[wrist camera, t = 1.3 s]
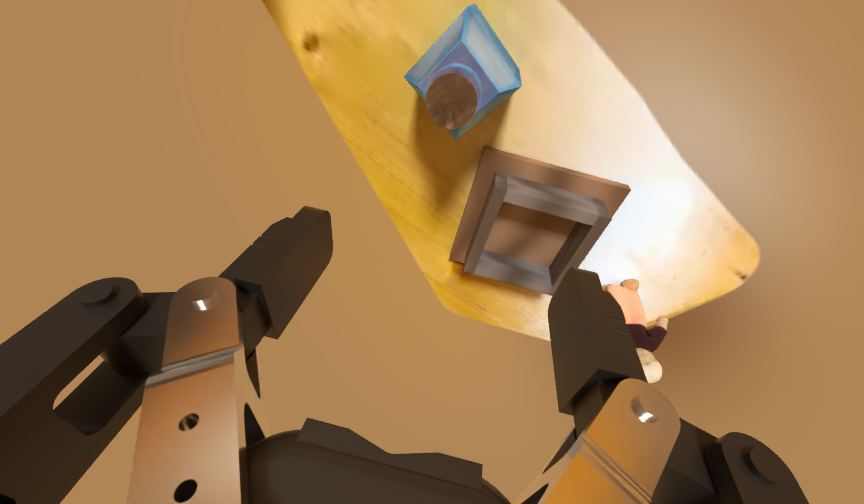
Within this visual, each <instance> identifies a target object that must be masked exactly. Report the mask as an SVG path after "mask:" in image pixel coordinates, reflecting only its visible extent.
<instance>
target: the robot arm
mask: <svg viewBox="0 0 864 504" xmlns="http://www.w3.org/2000/svg"><path fill="white" fill-rule="evenodd" d="M332 252H333V240H332V228H331V216H330V213H329V212H328V211H326V210H321V209H317V208H313V207H308V206H304V207H303V208H302V209H301V210H300V211H299V212H298V213H297V214H296V215H295V216H294V217H293V218H288V217H286V218H284V219H282V220H280V221H278V222H276V223H274V224H272V225H271V226H270V227H269V228H268V229H267V230H266V231H265V232H264V233H263V234H262V236H261V237H259V238H258V239H257V240H255V242H254V243H253V245H250V247H248V248H247V249H246V250H245V251H244V252H243V253H242V254H241V255H240V256H239V257H238V258H237V259H236V260H235V261H234V262H233V263H232V264H231V265H230V266H229V267H228V268H227V269H226V270H225V271H224V272H223V273H221V274H220V275H219V276H218V277H207V278H202V279H198V280H195V281H192V282H190V283H188V284H186V285H185V286H183V287H182V288H180V289H179V290H178V291H177V292H160V293H158V292H157V293H142V292H141V291H140V289H139V288H138V286H137V285H136V283H135V282H134V281H132V280H130V279H127V278H121V277H116V278H115V277H113V278H106V279H101V280H97V281H94V282H91V283H88V284H86V285H84V286H82V287H80V288H78V289H76V290H75V291H73V292H72V293H70V294H69V295H68V296H66V297H65V298H64V299H62V300H61V301H59V302H58V303H57V304H55V305H54V306H53V307H51V308H50V309H49V310H48V311H46V312H44V313H43V314H42V315H40V316H39V317H38V318H36V319H35V320H34V321H32V322H31V323H30V324H28V325H27V326H25V327H24V328H23V329H21V330H20V331H19V332H17V333H16V334H14V335H13V336H12V337H11V338H9V339H8V340H6V341H5V342H4V343H2V344H1V345H0V504H60V502H61V501H62V500H63V499H64V498H65V496H66V495H67V494H68V493H69V492H70V490H71V489H72V488H73V487H74V485H75V484H76V483H77V482H78V481H79V479H80V478H81V477H82V476H83V475H84V473H85V472H86V471H87V470H88V469H89V467H90V466H91V465H92V463H94V461H95V460H96V459H97V458H98V457H99V455H100V454H101V453H102V451H103V450H104V449H105V448H106V447H107V446H108V444H109V443H110V442H111V441H112V439H113V438H114V437H115V436H116V435H117V434H118V432H119V431H120V430H121V429H122V427H123V426H124V425H125V424H126V423H127V421H128V420H129V419H130V418H131V417H132V415H133V414H134V413H135V412H136V411H137V409H138V408H139V407H140V406H141V404H142V407H141V414H140V420H139V427H138V433H137V440H136V446H135V454H134V460H133V466H132V473H131V479H130V486H129V492H128V500H127V504H511V503H510V502H509V501H508V500H507V498H506V497H505V496H504V495H503V494H502V493H501V492H500V491H499V490H498V489H497V488H495V487H494V486H493V485H492V484H490V483H489V482H488V481H486V480H485V479H483V478H482V464H479V463H475V462H472V461H468V460H464V459H460V458H456V457H453V456H449V455H445V454H442V453H413V454H390V453H387V452H385V451H384V450H382V449H380V448H379V447H377V446H376V445H374V444H373V443H371V442H369V441H368V440H366V439H365V438H363V437H361V436H360V435H358V434H357V433H355V432H353V431H352V430H350V429H348V428H344V427H340V426H337V425H333V424H329V423H325V422H322V421H318V420H314V419H310V418H307V419H306V421H305V423H304V425H303V428H302V429H301V430H292V431H286V432H282V433H278V434H275V435H272V436H271V431H270V426H269V421H268V417H267V413H266V409H265V403H264V396H263V386H262V377H261V368H260V359H259V350H258V346H257V345H258V344H259V342H260V341H261V339H262V338H263V337H264V336H266V337H270V338H274V339H278V338H279V337H280V335H281V334H282V332H283V331H284V329H285V328H286V326H287V325H288V323H289V322H290V320H291V319H292V317H293V316H294V314H295V313H296V311H297V310H298V308H299V307H300V305H301V304H302V302H303V301H304V300H305V298H306V297H307V295H308V294H309V292H310V291H311V289H312V288H313V286H314V284H315V283H316V282H317V280H318V279H319V277H320V276H321V274H322V273H323V271H324V270H325V268H326V267H327V265H328V264H329V262H330V259H331V257H332ZM548 322H549V330H550V339H551V347H552V356H553V364H554V373H555V382H556V390H557V399H558V407H559V412H561V413H565V414H569V415H573V416H574V422H575V426H574V427H573V428H572V429H571V430H570V432H569V433H568V434H567V436H566V437H565V439H564V440H563V441H562V443H561V444H560V445H559V447H558V448H557V450H556V451H555V452H554V454H553V455H552V457H551V458H550V459H549V461H548V462H547V463H546V465H545V466H544V468H543V469H542V470H541V472H540V473H539V475H538V476H537V477H536V478H535V480H534V481H533V482H532V483H531V485H530V486H529V487H528V488H527V489H526V490H525V491H524V492H523V494H522V495H521V496H520V497H519V499H518V500H517V501H516V502H515V504H809V503H808V501H807V499H806V497H805V495H804V493H803V492H802V490H801V488H800V486H799V484H798V482H797V480H796V479H795V477H794V476H793V474H792V472H791V471H790V469H789V468H788V467H787V465H786V464H785V463H784V462H783V461H782V460H781V459H780V458H779V457H778V456H777V455H776V454H775V453H774V452H773V451H772V450H771V449H770V448H768V447H767V446H766V445H764V444H763V443H762V442H760V441H758V440H757V439H755V438H753V437H751V436H749V435H746V434H743V433H739V432H731V433H728V434H726V435H724V436H722V437H721V438H719V439H718V438H716V437H714V436H712V435H710V434H709V433H707V432H705V431H703V430H701V429H699V428H698V427H696V426H694V425H692V424H690V423H688V422H686V421H685V420H683V419H681V418H679V416H678V413H677V411H676V410H675V408H674V406H673V405H672V403H671V402H670V401H669V399H668V398H667V397H666V396H665V395H664V394H663V393H662V392H661V391H659V390H658V389H657V388H655V387H654V386H652V385H651V384H649V383H648V381H647V378H646V376H645V373H644V370H643V367H642V364H641V361H640V359H639V356H638V353H637V350H636V347H635V344H634V342H633V339H632V336H630V330H629V328H628V325H627V324H626V319H625V316H624V313H623V311H622V308H621V306H620V304H619V303H618V302H617V301H616V299H615V298H614V297H613V296H612V294H611V293H610V292H607V291H603V289H602V286H601V283H600V279H599V276H598V274H597V273H595V272H591V271H587V270H582V269H578V268H573V267H571V268H569V269H568V271H567V272H566V274H565V276H564V277H563V279H562V281H561V283H560V284H559V286H558V288H557V290H556V291H555V293H554V295H553V297H552V299H551V301H550V304H549V308H548ZM98 355H100V356H101V357H102V358H103V359H104V361H103V362H102V363H101V364H100V365H99V366H98V367H97V368H96V369H95V370H94V371H93V372H92V373H91V374H90V375H89V376H88V377H87V378H86V379H85V380H84V381H83V382H82V383H81V384H80V385H79V386H78V387H77V388H76V389H75V390H74V391H73V392H72V393H70V394H69V395H68V396H67V397H66V398H65V399H64V400H63V401H62V402H61V403H60V404H59V405H58V406H57V407H56V408H55V409H54V410H53V404H54V401H55V399H56V397H57V396H58V394H59V393H60V392H61V391H62V390H63V389H64V388H65V387H66V386H67V385H68V384H69V383H70V382H71V381H72V380H73V379H74V378H75V377H76V376H77V375H78V374H79V373H80V372H81V371H83V370H84V369H85V368H86V367H87V366H88V365H89V364H90V363H91V362H92V361H93V360H94V359H95V358H96V357H97V356H98Z"/></svg>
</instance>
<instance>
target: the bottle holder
mask: <svg viewBox="0 0 864 504" xmlns="http://www.w3.org/2000/svg"><path fill="white" fill-rule="evenodd" d="M630 191H631V189H630V188H629V186H628V185H625V184H621V183H618V182H614V181H610V180H607V179H603V178H599V177H596V176H592V175H588V174H585V173H581V172H577V171H574V170H570V169H566V168H563V167H559V166H555V165H552V164H548V163H544V162H541V161H537V160H533V159H530V158H526V157H522V156H519V155H515V154H511V153H508V152H504V151H500V150H497V149H493V148H489V147H486V146H485V147H484V151H483V154H482V157H481V160H480V163H479V166H478V169H477V172H476V175H475V179H474V182H473V185H472V188H471V191H470V194H469V197H468V200H467V204H466V207H465V210H464V213H463V216H462V219H461V222H460V225H459V228H458V232H457V235H456V238H455V241H454V244H453V247H452V250H451V253H450V258H449V259H451V260H454V261H458V262H461V263H465V264H464V272H468V273H472V274H475V275H479V276H482V277H486V278H490V279H493V280H497V281H501V282H504V283H508V284H512V285H515V286H519V287H522V288H526V289H530V290H533V291H537V292H541V293H544V294H548V295H551V296H553V295H554V293H555V291H556V290H557V288H558V286H559V284H560V283H561V281H562V279H563V277H564V276H565V274H566V272H567V271H568V269H569V268H571V267H573V268H578V267H579V265H580V264H581V263H582V261H583V260H584V258H585V257H586V255H587V254H588V253H589V251H590V250H591V248H592V247H593V245H594V244H595V243H596V241H597V240H598V238H599V237H600V235H601V234H602V233H603V231H604V230H605V228H606V227H607V226H608V224H609V223H610V221H611V220H612V216H613V215H614V214H615V212H616V211H617V209H618V208H619V206H620V205H621V204H622V202H623V201H624V199H625V198H626V196H627V195H628V194H629V192H630Z"/></svg>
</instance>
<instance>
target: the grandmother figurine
mask: <svg viewBox="0 0 864 504" xmlns="http://www.w3.org/2000/svg"><path fill="white" fill-rule="evenodd" d="M638 287H639V282H638V281H637V280H635V279H629V280H625V281H624V282H622V284H621V286H620V285H612V284H608V285H604V286H602V289H603V291H607V292H610V293H611V294H612V296H613V297H614V298H615V299H616V301H617V302H618V303H619V304H620V306H621V308H622V311H623V313H624V316H625V319H626V324H627V325H628V328H629V330H630V336H632V339H633V342H634V344H635V347H636V350H637V353H638V356H639V359H640V361H641V364H642V367H643V370H644V373H645V376H646V378H647V381H648V383H653V382H656V381H658V380H659V379H660V378H661V376H662V368H661V365H660V364H659V363H658V361H656V360H655V358H654V356H653V355H652V354H651V353H650V352H653V351H655V350H656V349H657V348H658V347H659V345H660V343H661V341H662V340H663V339H664V337H665V335H666V333H667V331H666V329H667V323H668V319H667V318H666V317H664V316H660V317H658V318H657V323H656V326H655V327H654V328H651V329H649V330H647V321H646V317H645V313H644V310H643V306H642V303H641V300H640V297H639V295H638V292H637V289H638Z"/></svg>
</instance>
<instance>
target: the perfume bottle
mask: <svg viewBox="0 0 864 504" xmlns="http://www.w3.org/2000/svg"><path fill="white" fill-rule="evenodd" d="M404 77H405V79H406V80H407V81H408V82H409V84H410V85H411V86H412V87H413V88H414V90H415V91H416V92H417V93H418V94H419V96H420V97H421V98H422V99H423V100H424V102H425V103H426V104H425V105H426V108H427V112H428V114H429V116H430V117H431V119H432V120H433V121H434V122H435V123H436V124H437V125H439V126H441V127H443V128H446V129H448V130H449V132H450V133H451V134H452V135H453V136H454V138H455V139H456V140H457V139H459V138H460V137H461V136H462V135H463V134H465V133H466V132H467V131H468V130H469V129H471V128H472V127H473V126H474V125H475V124H477V123H478V122H479V121H480V120H481V119H483V118H484V117H485V116H486V115H487V114H489V113H490V112H491V111H492V110H494V109H495V108H496V107H497V106H498V105H500V104H501V103H502V102H503V101H504V100H506V99H507V98H508V97H509V96H510V95H512V94H513V93H514V92H515V91H516V90H518V89H519V88H520V87H521V86H522V84H521V77H520V71H519V68H518V67H517V65H516V64H515V62H514V61H513V59H512V58H511V56H510V55H509V53H508V52H507V50H506V49H505V47H504V46H503V44H502V43H501V41H500V40H499V38H498V37H497V35H496V34H495V32H494V31H493V29H492V28H491V26H490V25H489V23H488V22H487V20H486V19H485V17H484V16H483V14H482V13H481V11H480V10H479V8H478V7H477V5H476V4H472V5H470V6H468V7H467V8H466V9H465V10H464V11H463V12H462V13H461V15H460V16H459V17H458V18H457V19H456V20H455V21H454V22H453V23H452V24H451V26H450V27H449V28H448V29H447V30H446V31H445V32H444V33H443V34H442V35H441V36H440V38H439V39H438V40H437V41H436V42H435V43H434V44H433V45H432V46H431V47H430V48H429V50H428V51H427V52H426V53H425V54H424V55H423V56H422V57H421V58H420V59H419V61H418V62H417V63H416V64H415V65H414V66H413V67H412V68H411V69H410V70H409V71H408V73H407V74H406V75H405V76H404Z"/></svg>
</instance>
